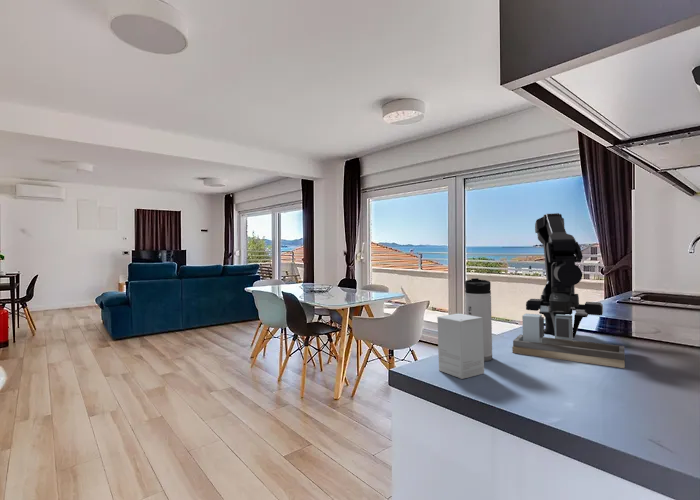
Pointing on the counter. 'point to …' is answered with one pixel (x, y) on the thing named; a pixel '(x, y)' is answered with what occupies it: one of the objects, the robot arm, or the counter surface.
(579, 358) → the rail
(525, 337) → the block
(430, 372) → the counter surface
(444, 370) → the supplement box
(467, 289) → the travel mug
